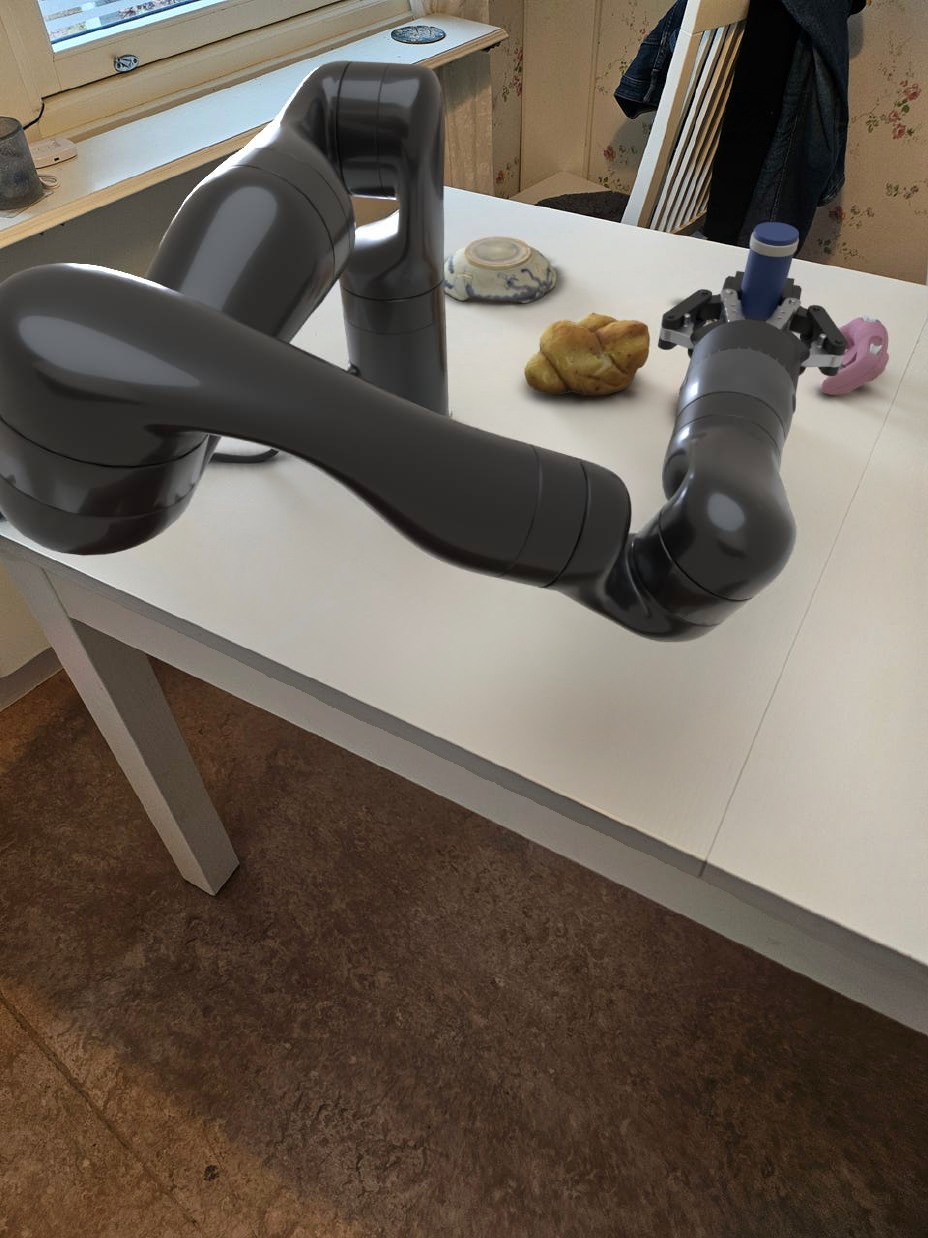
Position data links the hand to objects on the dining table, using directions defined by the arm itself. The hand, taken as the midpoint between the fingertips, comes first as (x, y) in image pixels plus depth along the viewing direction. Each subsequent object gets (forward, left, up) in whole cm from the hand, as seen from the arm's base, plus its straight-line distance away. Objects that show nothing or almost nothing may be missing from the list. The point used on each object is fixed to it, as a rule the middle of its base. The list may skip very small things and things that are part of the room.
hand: (762, 286), depth 70 cm
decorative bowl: (-19, +41, -19) cm, 49 cm away
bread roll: (-11, +17, -19) cm, 28 cm away
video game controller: (+18, +17, -19) cm, 31 cm away
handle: (-1, -3, -8) cm, 9 cm away
